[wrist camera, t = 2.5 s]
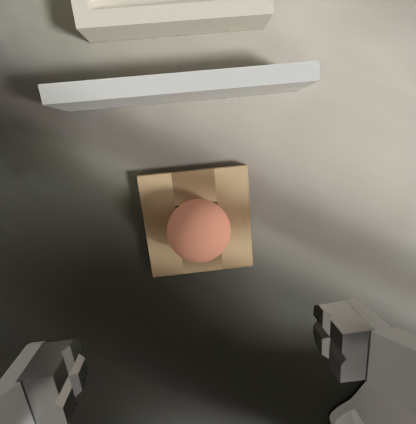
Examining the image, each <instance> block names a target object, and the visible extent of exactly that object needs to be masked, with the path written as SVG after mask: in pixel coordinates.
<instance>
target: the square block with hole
mask: <svg viewBox="0 0 416 424" xmlns="http://www.w3.org/2000/svg"><path fill="white" fill-rule="evenodd" d="M137 182H138V188H139V194H140V201H141V207H142V213H143V219H144V225H145V231H146V237H147V244H148V250H149V256H150V262H151V268H152V274H153V277H161V276H170V275H178V274H187V273H195V272H204V271H212V270H221V269H229V268H238V267H246V266H253V258H252V240H251V221H250V203H249V184H248V166H247V165H245V164H244V165H234V166H224V167H214V168H204V169H194V170H185V171H175V172H165V173H155V174H145V175H138V176H137ZM192 199H205V200H209V201H212V202H216V204H217V205H219V206H220V207H221V208H222V209H223V211H224V212H225V213H226V215H227V217H228V219H229V222H230V227H231V234H230V240H229V243H228V245H227V247H226V248H225V250H224V251H223V252H222V253H221V254H220V255H219V256H218V257H216V258H215V259H213V260H211V261H208V262H203V263H194V262H190V261H187V260H185V259H183V258H181V257H180V256H179V255H177V254H176V253H175V252H174V250H173V249H172V247H171V246H170V243H169V241H168V237H167V225H168V221H169V218H170V216H171V214H172V213H173V211H174V210H175V209H176V206H179V205H181V204H182V203H184V202H186V201H189V200H192Z"/></svg>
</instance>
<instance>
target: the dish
mask: <svg viewBox="0 0 416 424" xmlns="http://www.w3.org/2000/svg"><path fill="white" fill-rule="evenodd" d="M71 4H72V10H73V15H74V20H75V25H76V29H77V30H78V31H79V32H80V33H81V34H82V35H83V36H84V37H85V38H86V39H87V40H88V41H89V42H90V43H92V42H104V41H117V40H130V39H142V38H155V37H167V36H180V35H193V34H205V33H218V32H231V31H243V30H256V29H264V27H265V26H266V24H267V23H268V21H269V20H270V18H271V17H272V15H273V14H274V9H273V0H71Z"/></svg>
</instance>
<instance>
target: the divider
mask: <svg viewBox="0 0 416 424" xmlns="http://www.w3.org/2000/svg"><path fill="white" fill-rule="evenodd" d="M319 80H320V60H318V61H306V62H294V63H283V64H271V65H259V66H247V67H236V68H224V69H212V70H200V71H189V72H177V73H165V74H153V75H141V76H130V77H118V78H106V79H94V80H83V81H71V82H59V83H47V84H38V88H39V92H40V96H41V100H42V105H45V106H49V107H53V108H57V109H61V110H65V111H69V112H72V111H84V110H95V109H106V108H117V107H128V106H139V105H150V104H162V103H173V102H184V101H195V100H206V99H217V98H228V97H240V96H251V95H262V94H273V93H284V92H295V91H298V90H300V89H302V88H305V87H307V86H309V85H311V84H313V83H315V82H317V81H319Z"/></svg>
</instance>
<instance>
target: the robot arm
mask: <svg viewBox="0 0 416 424" xmlns="http://www.w3.org/2000/svg"><path fill="white" fill-rule="evenodd" d="M313 315H314V316H315V318H316V319H317V321H316V323H315V324H314V325H313V335H314V339H315V343H316V345H317V347H318V349H319V351H320V353H321V354H322V355H323V356H325V357H327V358H328V359H329V367H330V368H331V370H332V371H333V373H334V374H335V376H336V377H337V379H338V380H339V382H340V383H344V382H352V381H360V380H367V381H366V382H365V383H364V384H363V385H362V386H361V387H360V389H359V390H358V391H357V392H356V394H355V395H354V396H353V397H352V398H351V399H350V400H348V401H346V402H345V403H343V404H342V405H340V406H339V407H337V408H336V409H335V410H334V411H333V412H332V413H331V414H330V424H416V335H414V334H412V333H409V332H407V331H404V330H402V329H399V328H397V327H395V328H391V327H390V326H389V325H388V324H387V323H386V322H384V321H383V320H382V319H381V318H380V317H379V316H378V315H377V314H375V313H374V312H373V311H372V310H371V309H370V308H369V307H368V306H367V305H365V304H364V303H363V302H362V301H361V300H360V299H357V298H354V299H348V300H343V301H339V302H332V303H325V304H318V305H315V306H314V313H313ZM81 349H82V345H81V342H80V339H79V338H77V337H74V338H65V339H56V340H47V341H40V342H32V343H30V344H28V345H26V346H25V348H24V349H23V350H22V352H21V353H20V354H19V355H18V357H17V358H16V359H15V361H14V362H13V363H12V365H11V366H10V367H9V368H8V370H7V371H6V372H5V374H4V375H3V376H2V378H1V379H0V424H69V422H70V419H71V417H72V414H73V412H74V410H75V407H76V405H77V402H76V399H75V397H76V396H77V395H78V394H79V393H80V392H81V391H82V390H83V387H84V384H85V382H86V375H87V364H86V360H85V358H84V357H83V356H82V355H80V354H79V353H80V351H81Z"/></svg>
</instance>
